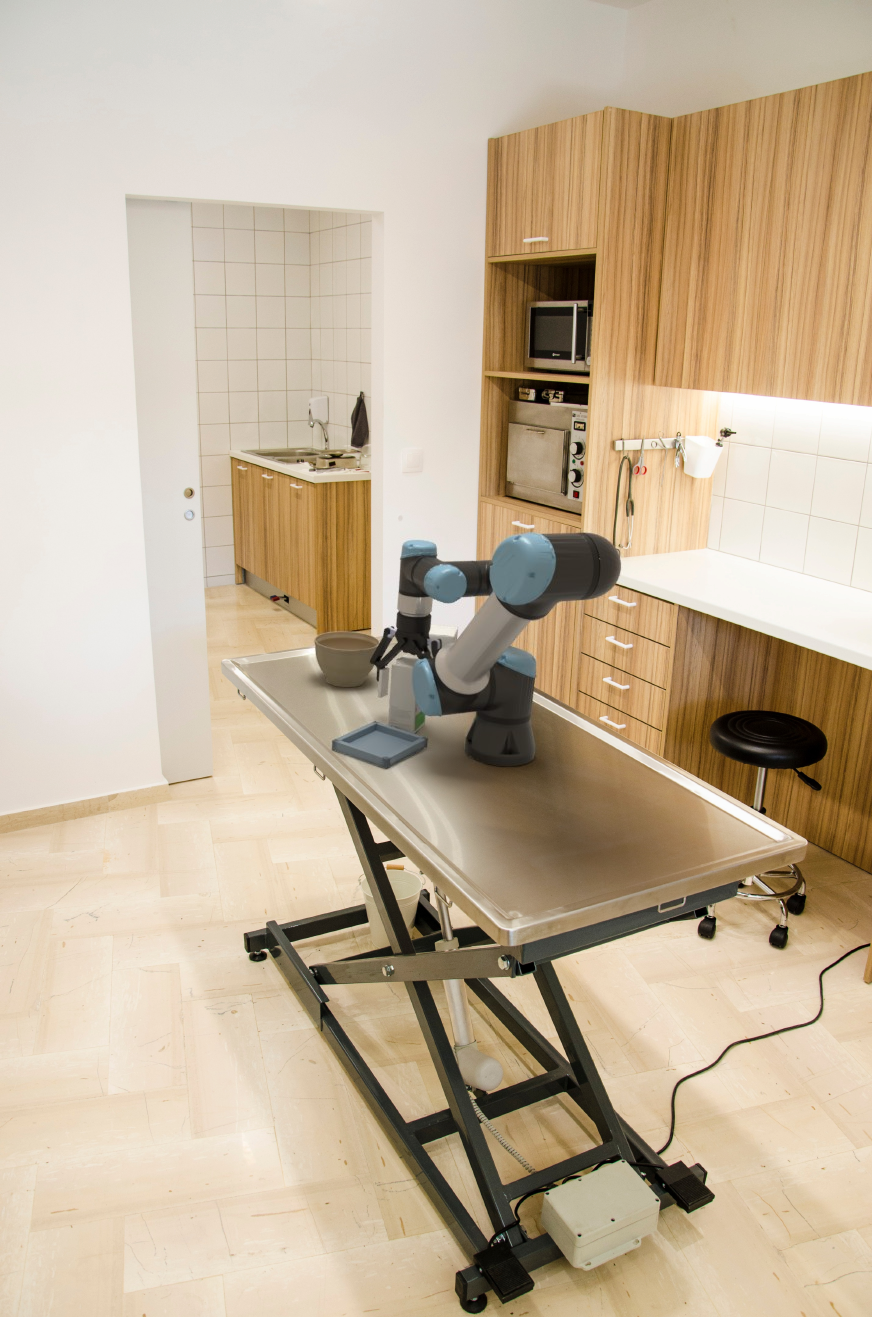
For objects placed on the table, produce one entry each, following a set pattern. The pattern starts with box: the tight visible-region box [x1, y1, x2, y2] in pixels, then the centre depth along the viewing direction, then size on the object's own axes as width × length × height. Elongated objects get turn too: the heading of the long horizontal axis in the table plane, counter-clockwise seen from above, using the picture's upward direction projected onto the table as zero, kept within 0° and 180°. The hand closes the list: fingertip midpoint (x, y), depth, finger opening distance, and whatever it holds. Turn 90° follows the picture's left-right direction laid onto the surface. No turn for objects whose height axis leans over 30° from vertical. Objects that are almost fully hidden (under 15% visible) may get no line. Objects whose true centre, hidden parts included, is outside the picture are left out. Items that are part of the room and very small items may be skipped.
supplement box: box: [422, 623, 459, 658], centre depth 246 cm, size 9×9×15 cm
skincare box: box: [387, 654, 427, 734], centre depth 219 cm, size 8×7×16 cm
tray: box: [331, 720, 429, 770], centre depth 208 cm, size 14×15×2 cm
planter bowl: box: [313, 630, 381, 688], centre depth 245 cm, size 16×16×11 cm
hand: (407, 703), depth 220 cm, fingers open, 13 cm apart
